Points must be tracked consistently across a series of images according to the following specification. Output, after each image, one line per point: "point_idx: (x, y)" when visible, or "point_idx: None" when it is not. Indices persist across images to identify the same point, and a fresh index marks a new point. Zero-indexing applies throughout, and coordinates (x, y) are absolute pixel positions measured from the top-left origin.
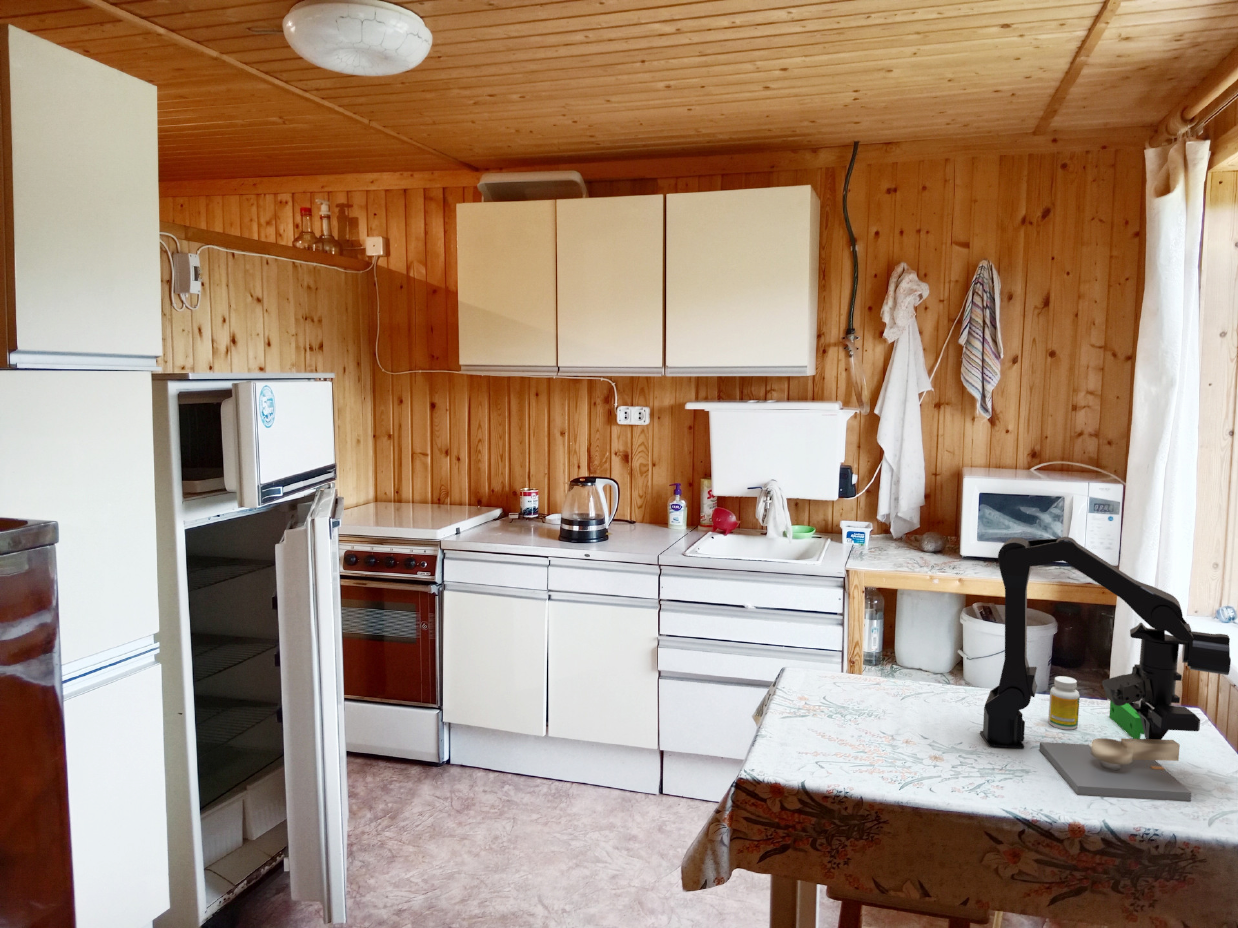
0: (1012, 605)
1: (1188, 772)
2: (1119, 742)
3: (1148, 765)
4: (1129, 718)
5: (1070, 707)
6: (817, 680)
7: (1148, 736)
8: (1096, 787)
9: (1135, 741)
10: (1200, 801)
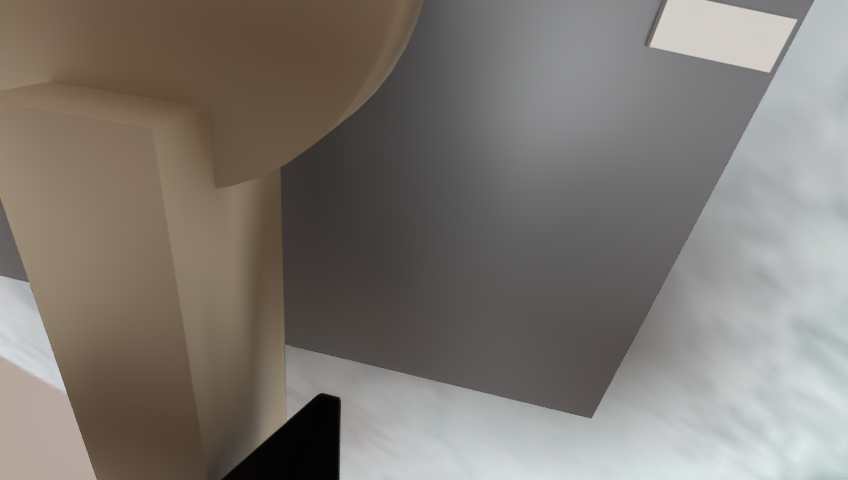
0: None
1: (340, 438)
2: (257, 119)
3: (295, 274)
4: None
5: None
6: None
7: (234, 477)
8: None
9: (81, 263)
10: (7, 278)
